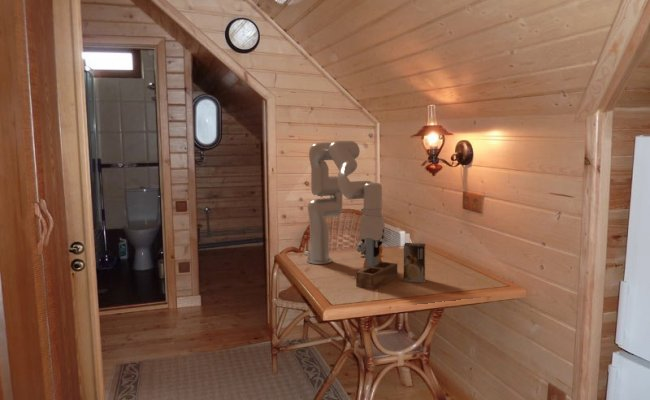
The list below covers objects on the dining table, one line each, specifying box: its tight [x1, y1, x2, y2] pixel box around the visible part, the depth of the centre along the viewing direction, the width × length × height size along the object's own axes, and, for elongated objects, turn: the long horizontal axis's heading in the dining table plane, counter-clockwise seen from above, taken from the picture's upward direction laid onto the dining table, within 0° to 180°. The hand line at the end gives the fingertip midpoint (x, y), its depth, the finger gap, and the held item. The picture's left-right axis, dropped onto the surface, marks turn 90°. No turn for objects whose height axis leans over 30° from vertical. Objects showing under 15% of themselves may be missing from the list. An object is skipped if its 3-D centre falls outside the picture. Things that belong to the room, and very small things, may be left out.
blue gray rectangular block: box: [365, 238, 379, 267], centre depth 212 cm, size 3×6×12 cm, turn 148°
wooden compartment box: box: [355, 260, 398, 290], centre depth 218 cm, size 9×22×6 cm, turn 148°
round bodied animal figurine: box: [355, 240, 366, 255], centre depth 267 cm, size 7×12×8 cm, turn 135°
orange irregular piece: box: [363, 244, 384, 269], centre depth 238 cm, size 11×7×12 cm
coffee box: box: [403, 242, 426, 284], centre depth 219 cm, size 9×6×16 cm
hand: (372, 255), depth 212 cm, fingers closed on blue gray rectangular block, 3 cm apart
